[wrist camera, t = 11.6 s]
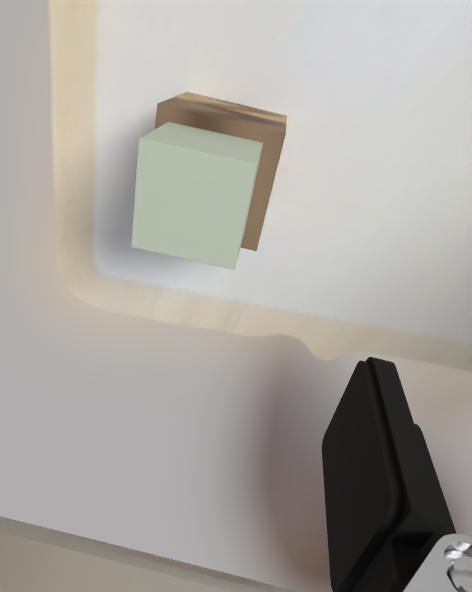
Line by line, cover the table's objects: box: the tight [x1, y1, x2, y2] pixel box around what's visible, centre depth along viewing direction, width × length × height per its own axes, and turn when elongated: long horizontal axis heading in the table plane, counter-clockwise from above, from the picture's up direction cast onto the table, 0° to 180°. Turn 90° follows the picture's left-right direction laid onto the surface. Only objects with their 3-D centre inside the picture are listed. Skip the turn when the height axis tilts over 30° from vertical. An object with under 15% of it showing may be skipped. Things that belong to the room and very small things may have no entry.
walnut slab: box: [155, 97, 286, 251], centre depth 30 cm, size 8×8×4 cm
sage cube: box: [131, 122, 263, 270], centre depth 25 cm, size 6×6×6 cm
